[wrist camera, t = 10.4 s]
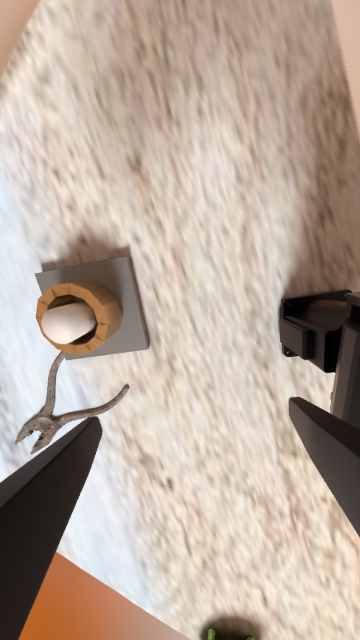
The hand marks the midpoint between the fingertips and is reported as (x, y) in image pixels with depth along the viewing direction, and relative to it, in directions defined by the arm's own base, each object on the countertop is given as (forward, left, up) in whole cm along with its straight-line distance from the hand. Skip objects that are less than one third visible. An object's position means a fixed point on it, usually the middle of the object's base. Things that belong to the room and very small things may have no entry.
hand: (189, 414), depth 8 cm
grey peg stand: (+10, -4, -12) cm, 16 cm away
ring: (+10, -4, -11) cm, 15 cm away
